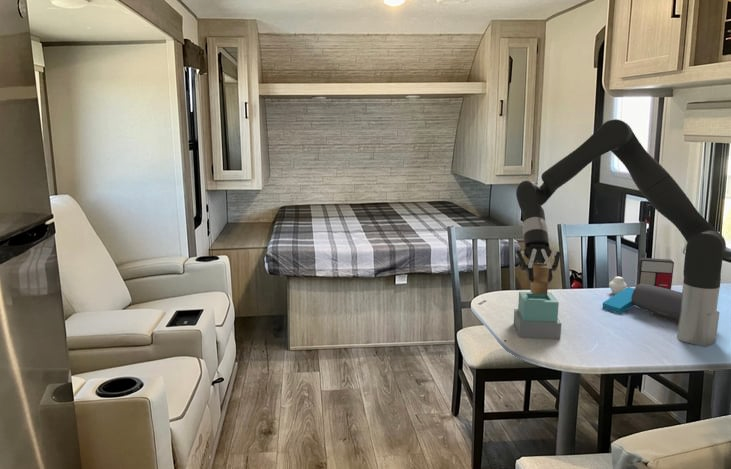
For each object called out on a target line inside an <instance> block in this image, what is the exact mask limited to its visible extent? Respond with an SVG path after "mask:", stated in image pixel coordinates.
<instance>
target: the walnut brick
mask: <svg viewBox="0 0 731 469" xmlns="http://www.w3.org/2000/svg"><path fill="white" fill-rule="evenodd" d="M532 269H533V277H534V281H533V282H529V283H530V284H529V292H532V294H545V295H547V292H548V291H549V290H548V289H549V283H548V276H549V267H548V266H547V265H546V264H542V263H533V265H532Z"/></svg>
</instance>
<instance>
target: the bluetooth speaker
mask: <svg viewBox="0 0 731 469" xmlns="http://www.w3.org/2000/svg"><path fill="white" fill-rule="evenodd" d="M681 298H682V292H680V291H677V290H673V289H671V290H670V289H666V288H662V287H657V286H652V285H647V284H638V285H637V284H636V285H635V288H634V291H633V294H632V297H631V300H632V303H633V305H634V306H635V308H636V307H637V309H638V308H639V309H641V310H644V311H646V312H649V313H652V316H653V317H656V318H658V319H661V320H664V321H667V322H670V323H674V324H675V323H676V324H678V323H679V315H680V306H681ZM634 306H633V307H634Z"/></svg>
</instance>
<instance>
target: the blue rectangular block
mask: <svg viewBox="0 0 731 469" xmlns="http://www.w3.org/2000/svg"><path fill="white" fill-rule="evenodd" d="M634 289H635V288H634V287H630V286H627V287H626V288H625V289H624V290H622V291H621V292H619V293H617V294H616V295H615V294H613V296H611V297H609V298H608V299H607V300H605V301H603V302H602V308H603V309H605V310H607V311H611V312H613V313H614V312H615V313H617V314H623V313H626V312H627V311H629V309H631V308H633V307H634V305H633V303H632V300H631V297H632V294H633V291H634Z"/></svg>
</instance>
